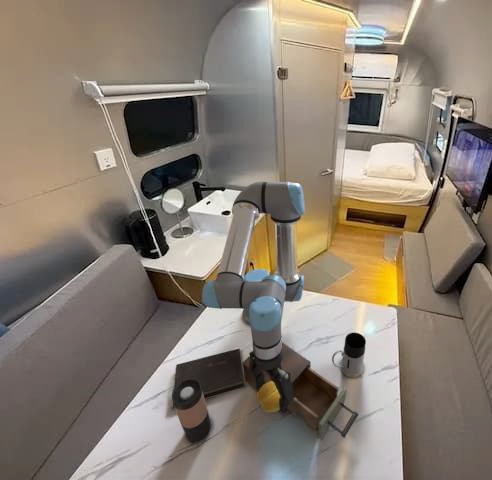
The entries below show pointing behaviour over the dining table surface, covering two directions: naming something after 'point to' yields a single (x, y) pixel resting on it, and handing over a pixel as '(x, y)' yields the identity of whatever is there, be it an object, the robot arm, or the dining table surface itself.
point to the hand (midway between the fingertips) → (272, 398)
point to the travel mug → (192, 410)
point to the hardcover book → (213, 373)
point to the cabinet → (289, 363)
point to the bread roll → (269, 397)
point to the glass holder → (352, 355)
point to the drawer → (319, 403)
